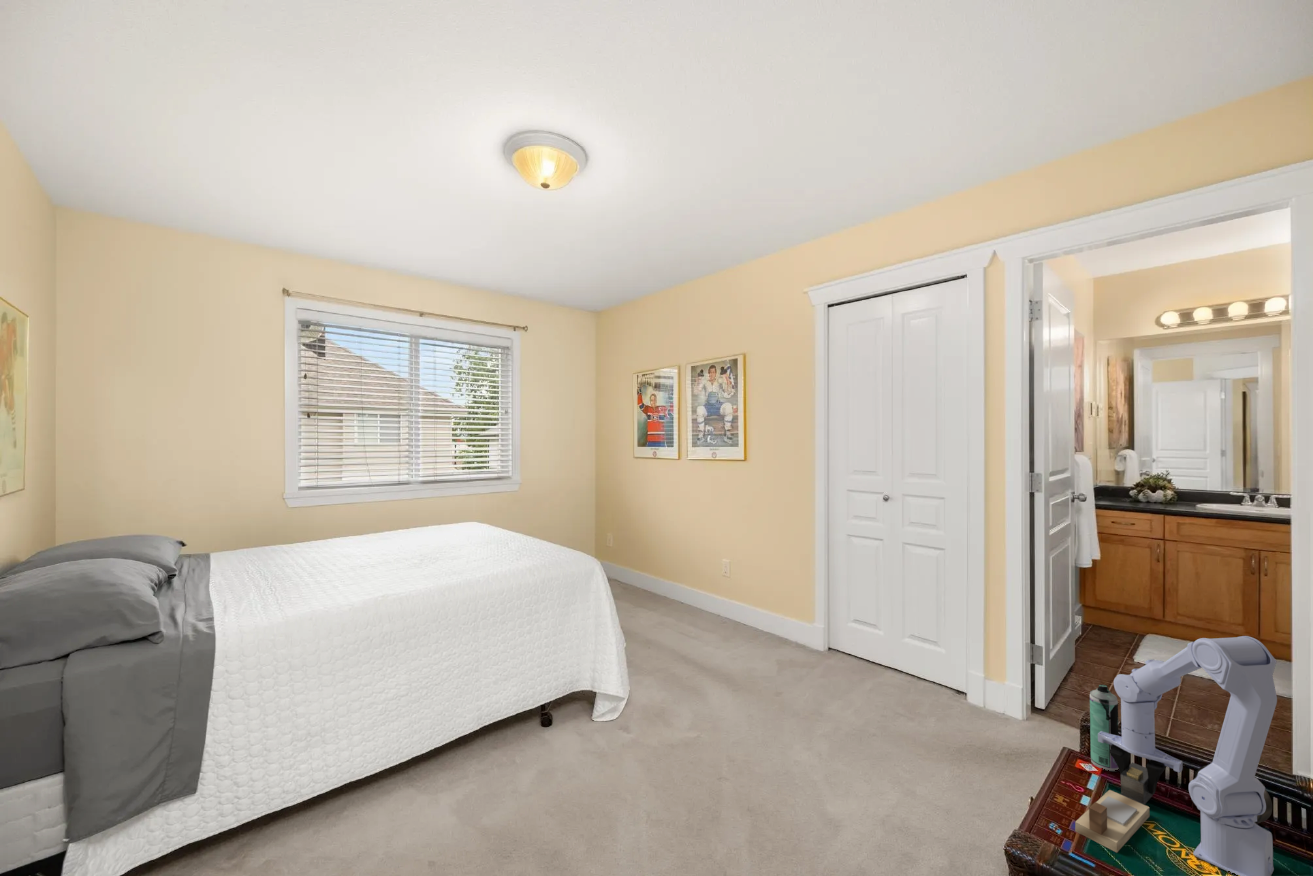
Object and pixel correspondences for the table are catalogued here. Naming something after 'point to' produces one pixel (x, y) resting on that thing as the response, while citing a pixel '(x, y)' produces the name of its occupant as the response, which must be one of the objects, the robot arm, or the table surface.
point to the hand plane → (1112, 820)
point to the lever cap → (1135, 783)
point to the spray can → (1103, 726)
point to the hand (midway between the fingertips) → (1138, 786)
